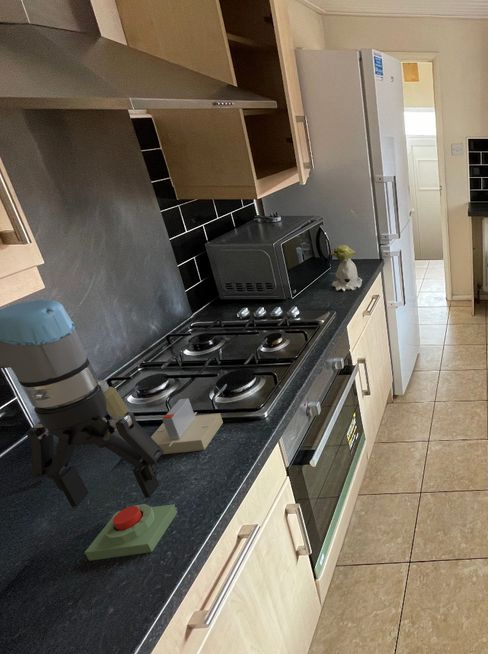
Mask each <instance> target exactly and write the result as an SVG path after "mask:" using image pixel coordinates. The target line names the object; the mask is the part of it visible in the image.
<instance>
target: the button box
mask: <svg viewBox="0 0 488 654" xmlns="http://www.w3.org/2000/svg"><path fill="white" fill-rule="evenodd" d="M134 506H136V507H138V508H139V510H140V512H141V514H142V517H141V519H140V521H139V522H138V523H136V524H135V525H134V526H133V527H131V528H128V529H126V530H124V531H118V530H117V529H116V527H115V525H114V523H113V519H114V517H115V516H116V515H117V514H118V513H119V512H120V511H121V510H119V511H116V512H115V513H114V514H113V516H112V517H111V518H110V519H109V520H108V522H107V523H106V525H105V526H104V527H103V528H102V530H101V531H100V532H99V533H98V534H97V536H96V537H95V538H94V540H92V541H91V544H90V545H89V546H88V547H87V548H86V550H85V551H84V555H85V556H86V558H87V560H88V561H90V562H91V561H98V560H104V559H111V558H118V557H125V556H133V555H140V554H141V555H142V554H149V553H152V552H153V551H154V549H155V548H156V546H157V545H158V544H159V541H160V540H161V539H162V537H163V536H164V534H165V532H166V531H167V529H168V528H169V527H170V524H171V523H172V521H173V520H174V518H175V517H176V515H177V514H178V510H177V507H176V505H175V504H174V503H173V504H165V505H158V506H157V505H156V506H151V505H148V504H146V503H141V504H135V505H134Z"/></svg>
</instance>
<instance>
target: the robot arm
mask: <svg viewBox="0 0 488 654" xmlns="http://www.w3.org/2000/svg"><path fill="white" fill-rule="evenodd" d="M8 368H10V369H11V371H12V372H13V373H14V375H15V377H16V379H17V381H18V383H19V384H20V386H21V388H22V390H23V392H24V393H25V396H26V397H27V398H28V401H29V403H30V404H31V406H32V407H34V413H35V415H36V416H37V418H38V420H39V421H38V422H37V423H36V424H34V425H33V426H32V427H31V428H30V429H29V430H27V431H26V432H25V434H26V436H27V438H28V439H29V441H30V445H31V463H32V475H33V477H35V478H42V477H43V476H44V477H45V476H46V477H47V478H48V479H50V480H53V482H54V484H55V486H56V487H57V489H58V490H59V491H62V492H63V494H64V496H65V497H66V499H67V501H68V503H69V504H70V506H71V508H76V507H78V506H79V505H80V504H81V503H82V502H83V501H84V499H86V497H87V496H88V495H89V494H90V492H89V490H88V488H87V487H86V484H85V483H84V480H83V479H82V477H81V475H80V473H79V471H78V470H77V467H76V466H75V465H73V466H72V465H71V464H72V462H70V461H71V459H72V456H73V455H74V452H75V448H76V447H78V446H82V445H95V446H97V447H98V448H100V449H103V448H106V449H107V450H109V451H110V452H112V453H114V454H115V455H117V456H118V457H120V458H121V459H123V460H125V461H126V462H128V463H129V464H131V465H132V466H134V468H133V469H132V473H133V475H134V477H135V480H136V481H137V483H138V486H139V488H140V490H141V492H142V495H143V496H144V499H150V498H151V497H152V496H153V494H154V493H155V491H156V490H157V489H158V488H159V486H160V483H159V481H158V478H157V474H158V468H157V467H156V465H155V464H156V462H157V461H158V460H159V458H161V456H162V455H164V454H163V452H164V451H163V450H162V449H161V447H160V446H159V445H158V444H157V443H156V442H155V441H154V440H153V439H152V438H151V436H150V434H149V433H147V432H146V430H145V429H144V428H143V426H141V425H140V424H139V422H137V419H136V417H135V414H134V413H133V412H131V411H130V412H127V413H126V414H125V415H124V416H117V417H113V416H112V415H111V414H110V413H109V412H108V411H107V399H106V397H105V395H104V393H103V390H102V388H101V386H100V385H99V384H98V381H99V378H98V377H97V375H96V373H95V371H94V368H93V366H92V364H91V362H90V360H89V358H88V356H87V353H86V351H85V348H84V346H83V343H82V341H81V339H80V337H79V334H78V332H77V330H76V327H75V322H74V321H73V320H72V319H71V317H70V316H69V314H68V312H67V310H66V308H65V307H64V305H63V304H62V303H61V302H59V301H57V300H53V299H36V300H33V301H23V302H19V303H15V304H11V305H9V306H6V307H3V308H0V369H8ZM108 432H110V435H109V436H108V437H107V438H106V439H103V438H104V437H105V436H106V434H107V433H108ZM54 437H57V438H58V442H57V444H56V447H55V444H54V442H55V440H54ZM55 450H56V452H55ZM69 465H71V466H69ZM68 466H69V467H68ZM67 467H68V468H67Z"/></svg>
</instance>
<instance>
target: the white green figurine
mask: <svg viewBox="0 0 488 654" xmlns="http://www.w3.org/2000/svg"><path fill="white" fill-rule="evenodd" d="M330 255H331V256H332V257H333V258H336V259H337V260H338V261H339V262H340V263H339V264H338V268H337V269H336V272H335V278H336V279H338V280H334V281H333V282H332V283H331V286H332V287H335V291H340V290H342V291H343V292H345V291H346V290H348V291H350V290H351V291H354V290H357V288H361V286H362V284H363V279H362V278H361V277H359V275H358V270H357V266H356V264H355V263H354V262H353V261H352V259H351V258H353V257H354V256H355V255H356V251H355V250H354V249H352V248H351V247H349V245H346V244H341V245H338V246H334V249H333V252H331V253H330ZM347 280H349V281H348V282H347Z"/></svg>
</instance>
